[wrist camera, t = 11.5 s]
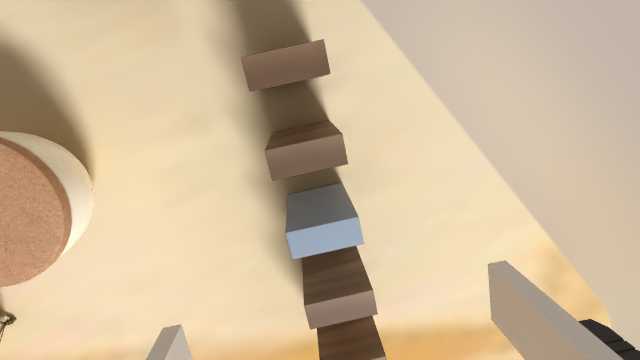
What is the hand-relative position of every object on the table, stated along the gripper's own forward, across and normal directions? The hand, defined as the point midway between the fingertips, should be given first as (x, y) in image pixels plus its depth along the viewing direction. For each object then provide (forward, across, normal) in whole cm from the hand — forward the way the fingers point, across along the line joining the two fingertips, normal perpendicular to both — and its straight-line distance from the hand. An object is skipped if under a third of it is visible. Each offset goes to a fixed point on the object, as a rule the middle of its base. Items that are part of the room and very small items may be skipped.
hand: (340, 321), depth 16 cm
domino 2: (+19, 0, -5) cm, 19 cm away
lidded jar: (+19, +22, -5) cm, 30 cm away
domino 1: (+19, 0, -11) cm, 22 cm away
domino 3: (+19, 0, 0) cm, 19 cm away
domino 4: (+19, 0, +6) cm, 20 cm away
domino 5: (+18, 0, +12) cm, 22 cm away
